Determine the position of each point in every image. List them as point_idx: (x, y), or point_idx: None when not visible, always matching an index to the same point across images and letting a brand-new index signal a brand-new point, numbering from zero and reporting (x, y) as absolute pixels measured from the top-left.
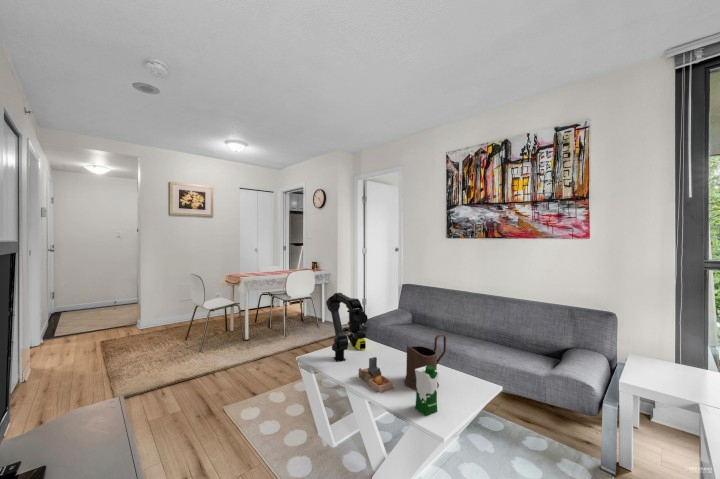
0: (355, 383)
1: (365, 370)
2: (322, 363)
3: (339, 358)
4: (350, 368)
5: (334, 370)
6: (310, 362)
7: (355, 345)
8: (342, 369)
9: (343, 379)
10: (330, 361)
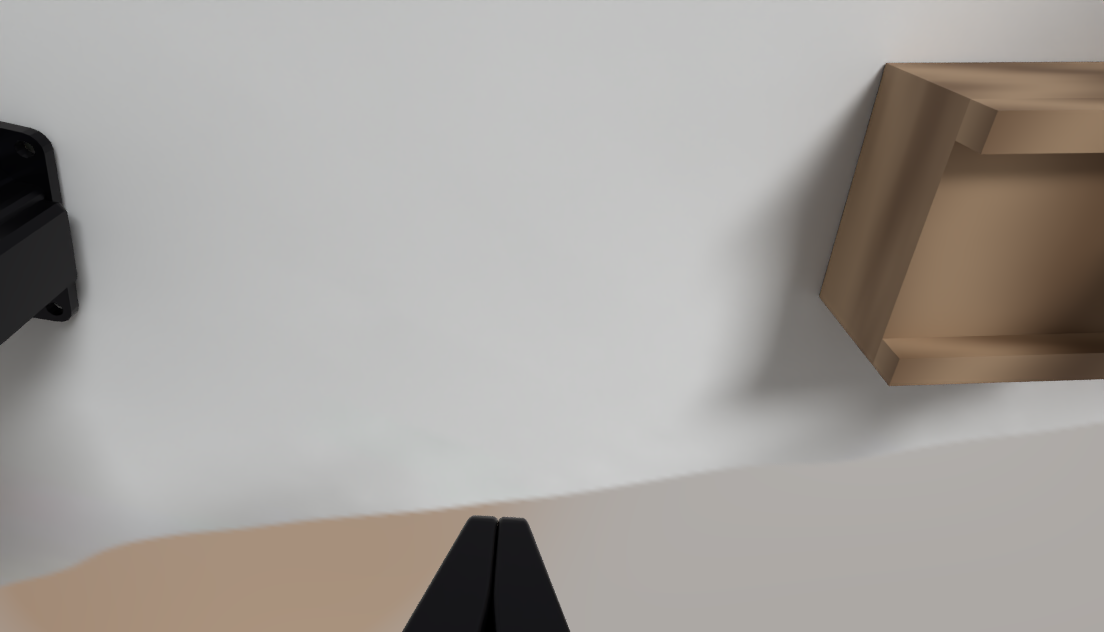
0: (901, 400)
1: (975, 277)
2: (104, 476)
3: (52, 296)
4: (457, 235)
5: (413, 443)
6: (33, 565)
7: (548, 590)
8: (433, 352)
9: (713, 458)
10: (38, 369)
